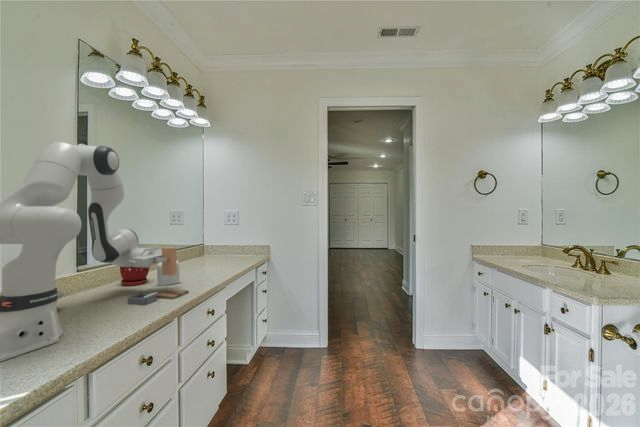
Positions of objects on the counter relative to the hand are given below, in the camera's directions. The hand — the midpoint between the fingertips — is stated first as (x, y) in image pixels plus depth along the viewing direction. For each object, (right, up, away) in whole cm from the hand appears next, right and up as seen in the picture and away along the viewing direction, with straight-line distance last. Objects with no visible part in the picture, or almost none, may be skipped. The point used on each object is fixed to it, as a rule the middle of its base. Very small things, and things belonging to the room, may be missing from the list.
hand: (171, 258), depth 131 cm
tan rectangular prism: (-1, -7, 0) cm, 7 cm away
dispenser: (-7, -16, -10) cm, 20 cm away
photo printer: (-11, -16, +20) cm, 28 cm away
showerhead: (-36, -17, -21) cm, 45 cm away
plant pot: (-29, -16, +21) cm, 40 cm away
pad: (-1, -16, 0) cm, 16 cm away
